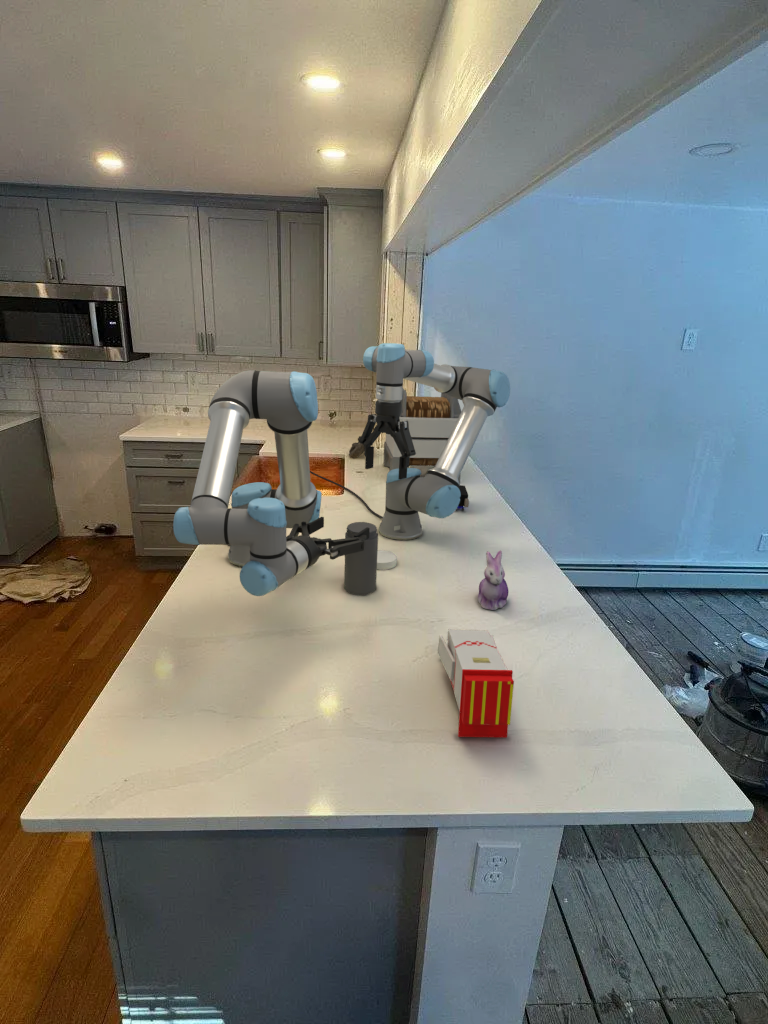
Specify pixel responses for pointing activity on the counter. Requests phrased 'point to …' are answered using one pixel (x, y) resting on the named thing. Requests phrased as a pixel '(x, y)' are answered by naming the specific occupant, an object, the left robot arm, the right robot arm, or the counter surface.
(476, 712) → the toy
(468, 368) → the right robot arm
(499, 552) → the figurine
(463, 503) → the figurine character
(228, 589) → the counter surface
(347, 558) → the jar
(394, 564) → the lid
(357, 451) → the fossil
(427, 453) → the grey and brown box
